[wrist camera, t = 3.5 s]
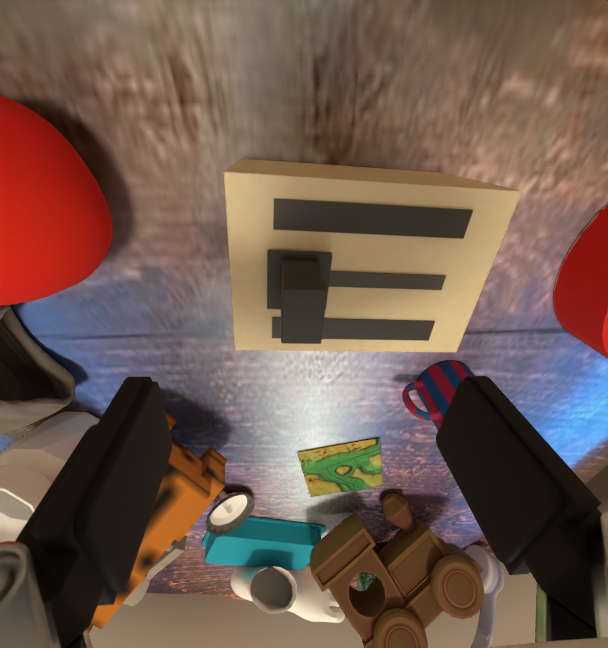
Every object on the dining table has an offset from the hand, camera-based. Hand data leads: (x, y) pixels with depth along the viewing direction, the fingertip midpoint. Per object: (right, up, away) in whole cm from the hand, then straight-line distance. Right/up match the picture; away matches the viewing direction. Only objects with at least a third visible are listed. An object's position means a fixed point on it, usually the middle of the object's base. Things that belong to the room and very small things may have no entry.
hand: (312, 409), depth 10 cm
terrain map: (+6, -19, +36) cm, 41 cm away
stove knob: (-11, -26, +36) cm, 45 cm away
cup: (+15, -4, +28) cm, 32 cm away
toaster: (+3, +11, +18) cm, 21 cm away
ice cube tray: (-7, -37, +43) cm, 57 cm away
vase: (-28, -11, +27) cm, 41 cm away
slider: (-1, +5, +8) cm, 10 cm away
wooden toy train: (+18, -41, +34) cm, 56 cm away
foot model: (-12, -42, +42) cm, 60 cm away
